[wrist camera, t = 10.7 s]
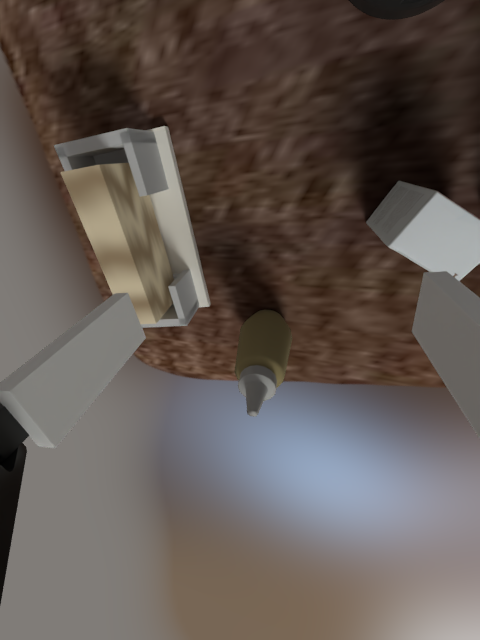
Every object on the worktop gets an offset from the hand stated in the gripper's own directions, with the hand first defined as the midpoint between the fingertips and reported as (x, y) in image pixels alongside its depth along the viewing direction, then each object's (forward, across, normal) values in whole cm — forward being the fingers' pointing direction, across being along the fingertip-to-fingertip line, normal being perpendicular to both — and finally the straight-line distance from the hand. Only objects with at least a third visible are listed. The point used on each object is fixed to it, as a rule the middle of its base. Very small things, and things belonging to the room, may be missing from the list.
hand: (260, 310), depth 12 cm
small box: (+27, +15, -3) cm, 31 cm away
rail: (+24, -19, -1) cm, 31 cm away
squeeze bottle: (+27, -4, -18) cm, 32 cm away
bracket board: (+26, -19, -1) cm, 33 cm away
